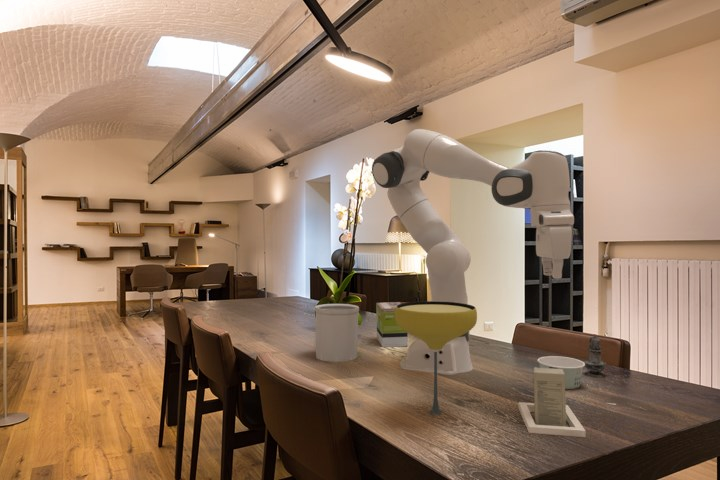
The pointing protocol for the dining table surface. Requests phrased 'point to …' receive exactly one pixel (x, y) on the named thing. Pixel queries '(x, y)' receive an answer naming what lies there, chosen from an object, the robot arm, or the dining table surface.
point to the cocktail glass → (436, 326)
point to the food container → (565, 368)
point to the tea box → (389, 326)
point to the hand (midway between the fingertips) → (552, 276)
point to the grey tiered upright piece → (594, 359)
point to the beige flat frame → (574, 430)
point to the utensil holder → (336, 332)
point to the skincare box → (549, 396)
